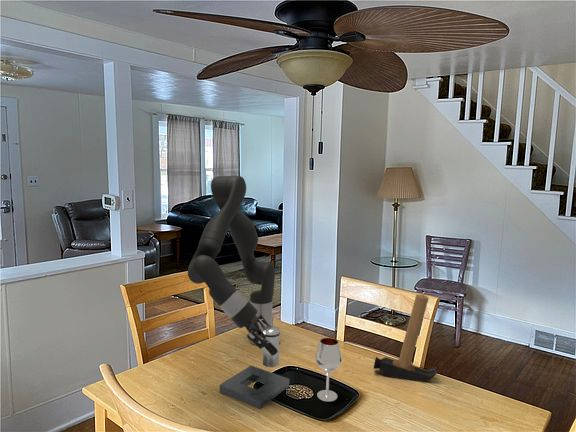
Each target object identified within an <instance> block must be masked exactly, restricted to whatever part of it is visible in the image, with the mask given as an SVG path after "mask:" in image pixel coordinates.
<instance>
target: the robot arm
mask: <svg viewBox="0 0 576 432" xmlns="http://www.w3.org/2000/svg"><path fill="white" fill-rule="evenodd" d="M210 190H211V195H212V197H213V199H214V202H215V204H216V206H217V208H218V209H219V210H218V212H217V213H216V214H215V215H214V216H213V217H212V218H211V219H210V220H209V221H208V222H207V224H206V225H205V226H204V229H203V231H202V234H201V237H200V239H199V242H198V246H197V249H196V251H195V252H194V254H193V256H192V259H191V261H190V263H189V265H188V267H187V268H188V269H187V276H188V279H189V280H190V281H191V282H192V284H197V285H200V284H206V286H207V288H208V294H209V296H210V297H211V299H212V300H214V302H215V303H216V304H217V305H218V306H219V307H220V308H221V310H222V311H223V312H224V314H225V315H226V316H227V317H229V319H230V320H231V321H232V322H233V323H234V324H235V325H236V326H237V327H238V328H239V329H243V328H245V329H246V330H247V332H248V334H246V338H247V339H248V340H249V343H250V344H251V345H256V347H258V348H259V349H263V348H264V347H265V349H266V350H267V351H268V352H269V353H270V354H271V355H272V356H274V355H275V354H276V353H277V352H278V350H277V349H276V348H275V346H274V345H273V344H272V343H271V342H269V340H268V339H267V337H266V333H265V332H264V330H263V328H264V327H266V326H274V317H273V301H274V300H273V298H274V294H275V290H274V289H275V279H276V278H275V277H276V270H275V269H276V268H275V266H274V264H273V263H271V262H265V261H259V260H257V259H256V257H255V254H254V252H255V250H256V248H257V246H258V242H259V235H258V232H257V230H256V229H257V228H256V227H255V224H254V222H253V221H252V220H251V218H249V216H247V214H244V212H242V211H241V210H240V207H241V205H242V203H243V201H244V199H245V197H246V194H247V183H246V180H245V179H244V177H243V176H241V175H232V174H231V175H219V176H214V177H213V178H212V180H211V182H210ZM228 230H229V233H230V236H231V237H232V241H233V242H234V245H235V247H236V249H237V252H238V254H239V257H240V260H241V263H242V266H243V270H244V274H245V277H246V279H247V281H248V282H249V283H251V284H255V285H260V287H261V289H259V290H254V291H252V292H251V293H250V294H249V295H250V296H249V300H248V298H247V297H246V296H245V295H244V294H243V293H242V292H240V291H239V290H238V289H237V288H236V287H235V286H234V285H233V283H231V282H230V281H229V280H228V278H227V276H226V275H225V273H224V271H223V270H222V268H221V267H220V265H219V263H218V262H217V261H216V257H217V256H218V254H219V253H220V252H221V249H222V247H223V242H224V240H225V237H226V234H227V232H228ZM263 338H264V339H263ZM280 345H281V341H280V340H279V346H280Z"/></svg>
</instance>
